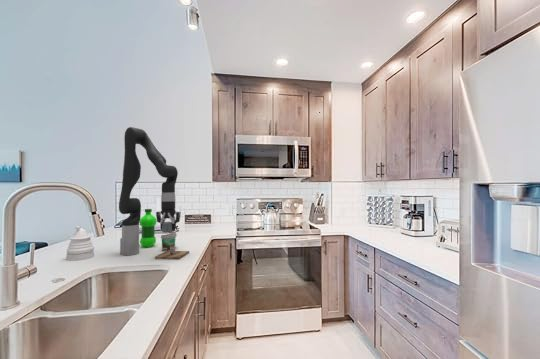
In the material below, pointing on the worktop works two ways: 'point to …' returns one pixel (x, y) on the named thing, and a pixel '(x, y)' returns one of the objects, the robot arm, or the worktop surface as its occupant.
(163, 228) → the cap
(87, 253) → the honey pot
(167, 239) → the food container
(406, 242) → the worktop surface
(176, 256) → the stub board
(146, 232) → the plastic bottle
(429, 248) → the worktop surface
